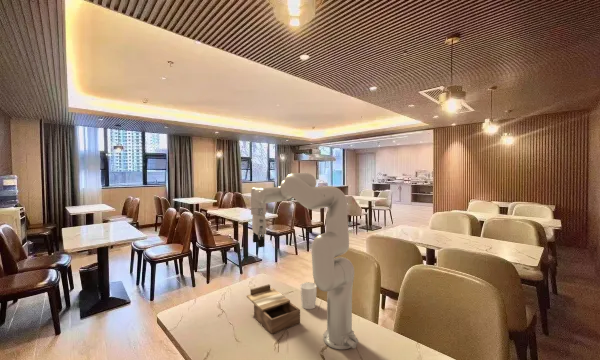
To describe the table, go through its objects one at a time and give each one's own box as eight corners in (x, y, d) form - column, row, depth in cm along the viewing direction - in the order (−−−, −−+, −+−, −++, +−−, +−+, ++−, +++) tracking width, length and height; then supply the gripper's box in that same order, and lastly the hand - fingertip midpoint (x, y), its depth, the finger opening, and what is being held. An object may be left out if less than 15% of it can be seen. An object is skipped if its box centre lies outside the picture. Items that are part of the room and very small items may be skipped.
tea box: (300, 323, 116) (300, 309, 116) (271, 334, 108) (271, 320, 107) (281, 308, 129) (280, 295, 129) (254, 317, 121) (253, 304, 121)
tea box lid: (290, 302, 122) (289, 295, 122) (262, 311, 114) (262, 303, 114) (272, 289, 135) (272, 283, 135) (246, 297, 127) (246, 290, 127)
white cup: (317, 310, 127) (316, 289, 126) (300, 310, 127) (300, 289, 127) (316, 301, 135) (316, 282, 134) (300, 301, 135) (300, 282, 134)
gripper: (270, 213, 131) (270, 248, 132) (260, 208, 147) (260, 239, 147) (255, 214, 128) (255, 250, 129) (247, 209, 144) (247, 241, 144)
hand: (258, 244), depth 138 cm, fingers open, 9 cm apart
